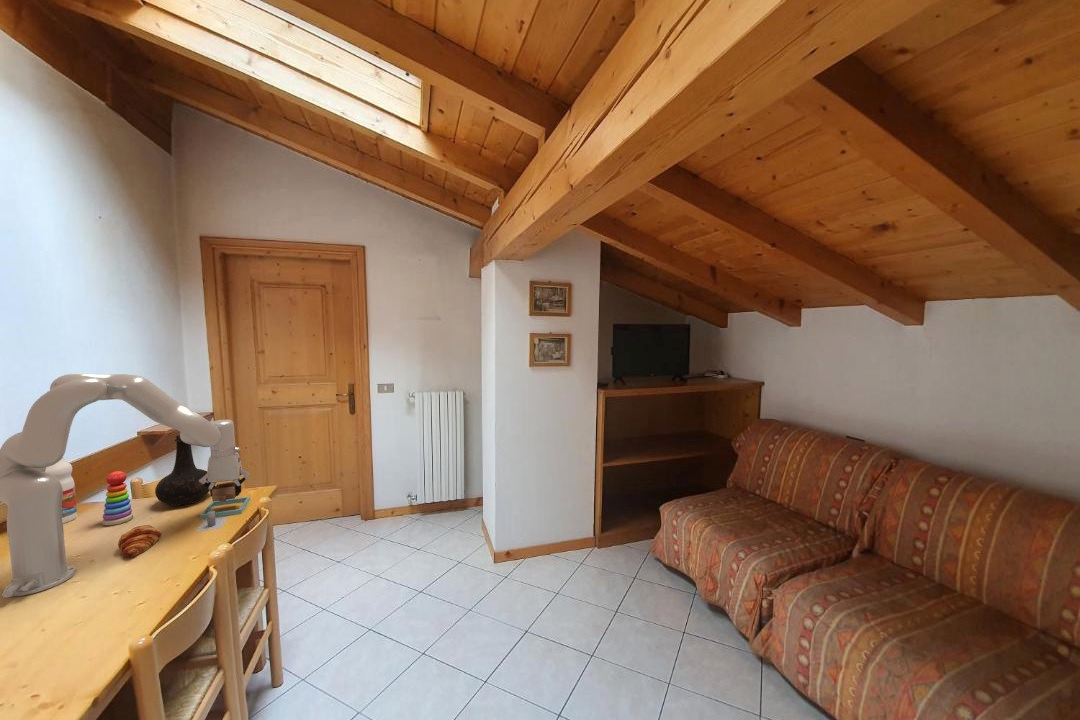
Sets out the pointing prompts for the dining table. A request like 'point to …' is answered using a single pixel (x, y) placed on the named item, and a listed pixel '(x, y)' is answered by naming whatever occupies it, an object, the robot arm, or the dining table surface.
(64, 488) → the fruit juice
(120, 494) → the stacking toy
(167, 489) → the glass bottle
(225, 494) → the collar
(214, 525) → the stake
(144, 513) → the dining table surface
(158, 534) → the croissant
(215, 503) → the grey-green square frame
